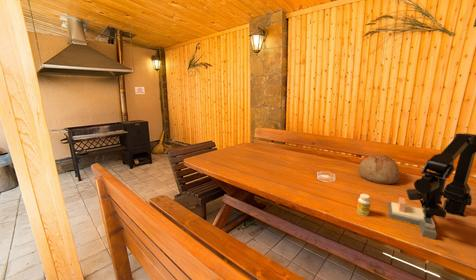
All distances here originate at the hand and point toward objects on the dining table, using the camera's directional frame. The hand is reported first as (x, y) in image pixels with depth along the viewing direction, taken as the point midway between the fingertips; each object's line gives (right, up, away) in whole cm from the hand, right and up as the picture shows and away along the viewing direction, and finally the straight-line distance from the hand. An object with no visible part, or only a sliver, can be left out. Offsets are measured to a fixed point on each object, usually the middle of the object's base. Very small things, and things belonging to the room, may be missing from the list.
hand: (426, 219), depth 91 cm
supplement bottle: (-21, -2, +12) cm, 24 cm away
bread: (+13, +9, +51) cm, 54 cm away
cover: (-2, 0, +8) cm, 8 cm away
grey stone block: (-2, -1, -3) cm, 4 cm away
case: (-3, -3, +5) cm, 7 cm away
